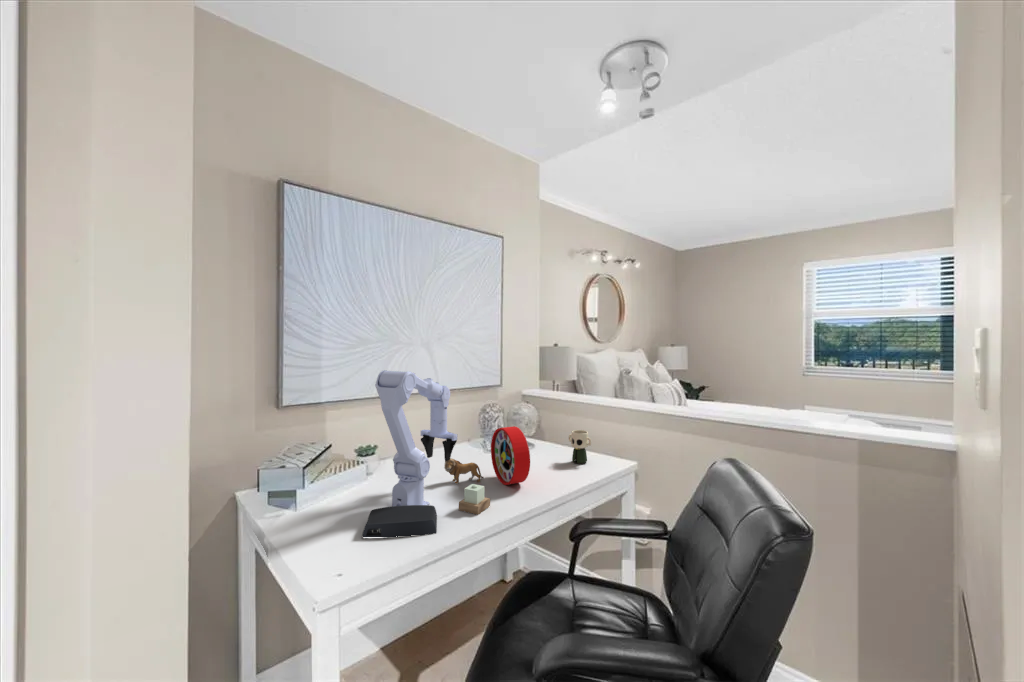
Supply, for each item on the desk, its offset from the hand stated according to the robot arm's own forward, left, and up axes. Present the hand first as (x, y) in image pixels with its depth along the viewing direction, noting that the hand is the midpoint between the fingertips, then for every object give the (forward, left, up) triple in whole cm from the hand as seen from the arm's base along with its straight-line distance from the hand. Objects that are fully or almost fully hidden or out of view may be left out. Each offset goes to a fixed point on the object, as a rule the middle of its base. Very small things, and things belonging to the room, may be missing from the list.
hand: (438, 458), depth 144 cm
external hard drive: (-28, -9, -11) cm, 31 cm away
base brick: (-8, -20, -10) cm, 24 cm away
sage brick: (-8, -20, -8) cm, 23 cm away
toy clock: (+17, -19, -11) cm, 28 cm away
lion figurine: (+10, -4, -11) cm, 15 cm away
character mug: (+52, -34, -11) cm, 63 cm away
